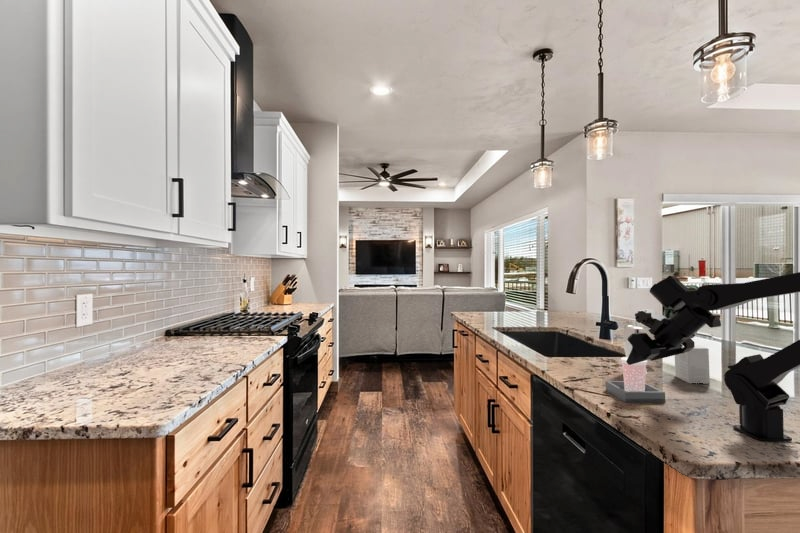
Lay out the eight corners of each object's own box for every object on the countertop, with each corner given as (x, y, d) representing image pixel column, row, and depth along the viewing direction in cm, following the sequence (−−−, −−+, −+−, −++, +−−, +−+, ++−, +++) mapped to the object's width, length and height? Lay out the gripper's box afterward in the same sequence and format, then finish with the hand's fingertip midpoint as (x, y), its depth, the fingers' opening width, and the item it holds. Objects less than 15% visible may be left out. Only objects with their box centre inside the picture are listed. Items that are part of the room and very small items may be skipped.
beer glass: (618, 372, 126) (618, 326, 126) (632, 369, 129) (631, 324, 129) (639, 377, 119) (638, 329, 119) (653, 374, 122) (652, 327, 122)
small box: (710, 384, 111) (709, 348, 111) (688, 383, 112) (687, 348, 112) (694, 377, 119) (694, 343, 119) (674, 376, 120) (674, 342, 120)
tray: (665, 402, 97) (665, 392, 97) (625, 402, 98) (625, 392, 98) (642, 389, 107) (641, 380, 107) (605, 389, 108) (605, 381, 108)
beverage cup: (632, 388, 106) (631, 338, 106) (653, 394, 101) (652, 341, 101) (616, 391, 104) (615, 339, 104) (637, 398, 98) (636, 343, 98)
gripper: (680, 297, 100) (639, 333, 110) (634, 301, 93) (595, 339, 102) (716, 331, 93) (669, 367, 103) (669, 338, 85) (624, 376, 95)
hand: (639, 361), depth 101 cm, fingers open, 9 cm apart
